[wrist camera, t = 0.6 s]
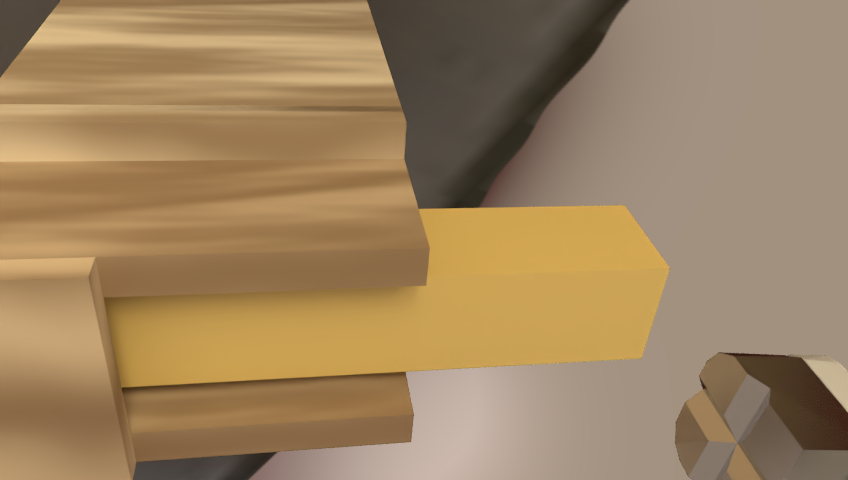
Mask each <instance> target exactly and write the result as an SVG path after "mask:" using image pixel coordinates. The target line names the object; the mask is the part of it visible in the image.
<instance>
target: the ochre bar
mask: <svg viewBox="0 0 848 480" xmlns="http://www.w3.org/2000/svg"><path fill="white" fill-rule="evenodd" d="M419 212H420V216H421V219H422V222H423V226H424V229H425V233H426V236H427V240H428V243H429V246H430V252H429V263H428V273H427V283H426V286H405V287H377V288H350V289H322V290H295V291H267V292H239V293H212V294H184V295H157V296H129V297H103V298H104V303H105V308H106V313H107V318H108V323H109V328H110V333H111V338H112V343H113V348H114V353H115V358H116V363H117V368H118V373H119V378H120V383H121V388H122V387H140V386H158V385H176V384H193V383H211V382H229V381H247V380H265V379H283V378H301V377H318V376H336V375H354V374H372V373H390V372H407V371H424V370H443V369H460V368H479V367H497V366H515V365H532V364H549V363H568V362H586V361H604V360H622V359H640V358H642V355H643V352H644V349H645V346H646V343H647V339H648V336H649V333H650V330H651V327H652V324H653V321H654V317H655V314H656V311H657V308H658V304H659V301H660V298H661V295H662V292H663V289H664V285H665V282H666V279H667V276H668V273H669V270H670V268H669V266H668V265H667V263H666V262H665V260H664V259H663V258H662V256H661V255H660V254H659V252H658V251H657V249H656V248H655V247H654V245H653V244H652V242H651V241H650V240H649V238H648V237H647V236H646V234H645V233H644V232H643V230H642V229H641V227H640V226H639V224H638V223H637V222H636V220H635V219H634V218H633V216H632V215H631V213H630V212H629V211H628V209H627V208H626V206H625V205H613V206H556V207H505V208H504V207H502V208H447V209H419Z"/></svg>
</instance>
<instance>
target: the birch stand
mask: <svg viewBox="0 0 848 480" xmlns="http://www.w3.org/2000/svg"><path fill="white" fill-rule="evenodd" d="M406 124H407V123H406V120H405V117H404V114H403V110H402V107H401V104H400V101H399V98H398V95H397V92H396V89H395V86H394V83H393V80H392V76H391V73H390V70H389V67H388V64H387V61H386V58H385V55H384V52H383V49H382V46H381V42H380V39H379V36H378V33H377V30H376V27H375V24H374V21H373V18H372V15H371V11H370V8H369V5H368V2H367V0H61V1H60V2H59V4H58V5H57V6H56V7H55V9H54V10H53V11H52V12H51V14H50V15H49V16H48V18H47V19H46V20H45V21H44V23H43V24H42V25H41V26H40V28H39V29H38V30H37V32H36V33H35V34H34V35H33V37H32V38H31V39H30V41H29V42H28V43H27V44H26V46H25V47H24V48H23V49H22V51H21V52H20V53H19V55H18V56H17V57H16V58H15V60H14V61H13V62H12V63H11V65H10V66H9V67H8V69H7V70H6V71H5V72H4V74H3V75H2V76H1V77H0V480H133V477H134V471H135V466H136V462H142V461H156V460H170V459H183V458H197V457H211V456H225V455H239V454H252V453H266V452H280V451H293V450H307V449H321V448H335V447H348V446H362V445H375V444H389V443H404V442H411V437H412V426H413V416H414V413H413V409H412V404H411V398H410V393H409V388H408V383H407V378H406V373H405V372H390V373H372V374H354V375H336V376H318V377H301V378H283V379H265V380H247V381H229V382H211V383H193V384H176V385H158V386H140V387H122V388H121V383H120V378H119V373H118V368H117V363H116V358H115V353H114V348H113V343H112V338H111V333H110V328H109V323H108V318H107V313H106V308H105V303H104V298H103V297H129V296H157V295H184V294H212V293H239V292H267V291H295V290H322V289H350V288H377V287H405V286H426V283H427V273H428V263H429V252H430V246H429V243H428V240H427V236H426V233H425V229H424V226H423V222H422V219H421V216H420V212H419V209H418V205H417V202H416V198H415V195H414V191H413V188H412V185H411V181H410V178H409V174H408V171H407V167H406V164H405V161H404V153H405V139H406Z"/></svg>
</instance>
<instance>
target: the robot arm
mask: <svg viewBox="0 0 848 480" xmlns="http://www.w3.org/2000/svg"><path fill="white" fill-rule="evenodd" d="M699 377H700V381H701V385H702V387H703V390H701V391H700V392H699V393H697V394H696V395H694V396H693V397H692V398H690V399H689V400H687V401H686V402H685V404H684V406H683V408H682V410H681V412H680V414H679V417H678V419H677V421H676V435H675V444H676V448H677V452H678V456H679V460H680V462H681V464H682V466H683V468H684V469H685V471H686V473H687V475H688V477H689V478H690V479H692V480H848V372H847V371H846V369H845V368H844V367H843V366H842V365H841V364H840V363H839V362H837V361H835V360H833V359H831V358H829V357H828V356H825V355H824V356H823V355H788V356H786V355H769V354H745V353H721V352H718V353H717V354H716V355H714V356H713V357H712V358H710V359H709V360H708V361H707V362H706V364H705V366H704V368H703V370H702V372H701V373H700V375H699Z"/></svg>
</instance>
